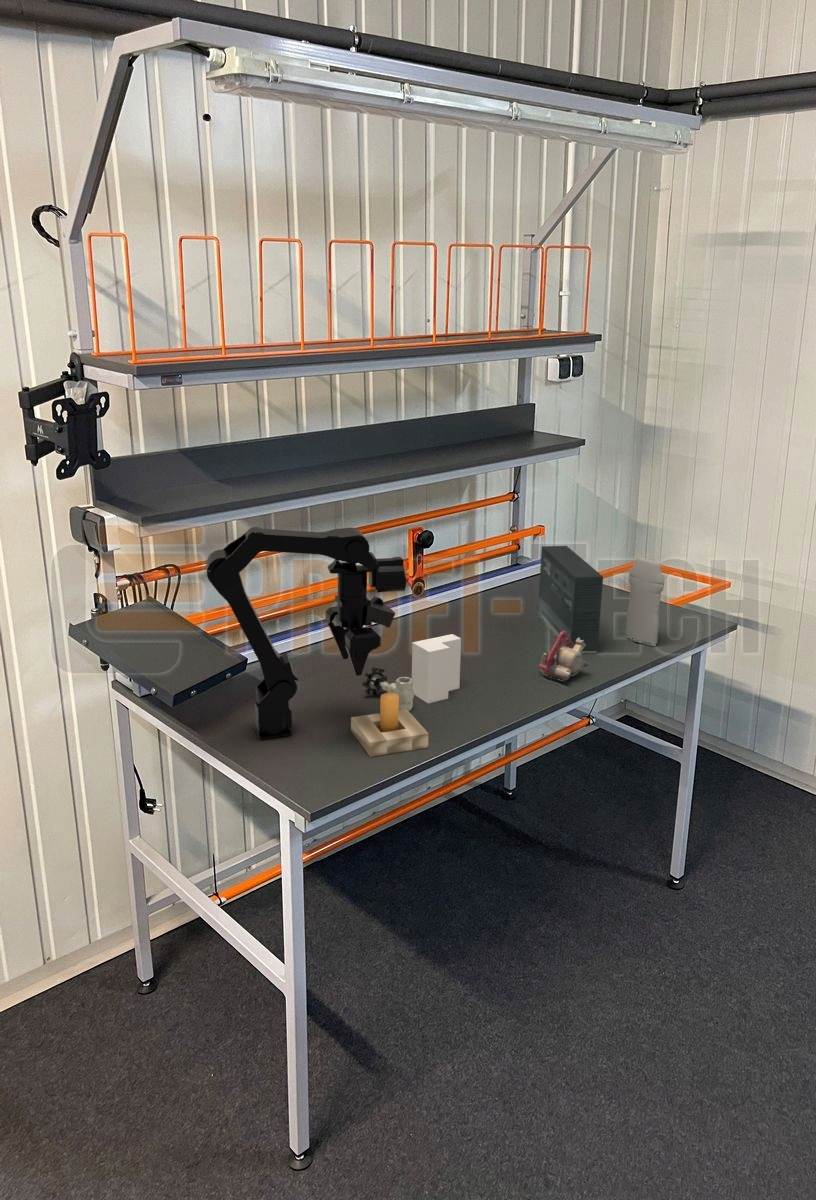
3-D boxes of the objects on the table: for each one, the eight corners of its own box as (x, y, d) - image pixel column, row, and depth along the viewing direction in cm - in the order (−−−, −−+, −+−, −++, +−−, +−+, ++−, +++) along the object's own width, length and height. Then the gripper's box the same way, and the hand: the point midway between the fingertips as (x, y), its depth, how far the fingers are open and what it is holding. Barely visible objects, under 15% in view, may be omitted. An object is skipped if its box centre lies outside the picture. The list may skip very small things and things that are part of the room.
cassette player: (596, 653, 238) (603, 576, 232) (569, 655, 237) (575, 577, 231) (561, 615, 266) (566, 545, 259) (537, 616, 265) (541, 546, 258)
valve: (421, 707, 207) (384, 690, 215) (422, 678, 205) (384, 663, 213) (399, 715, 202) (362, 698, 211) (399, 686, 200) (362, 670, 209)
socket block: (370, 756, 184) (370, 742, 183) (351, 730, 195) (350, 717, 194) (428, 747, 188) (428, 733, 187) (406, 722, 199) (406, 709, 198)
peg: (383, 743, 189) (384, 701, 186) (377, 735, 192) (378, 694, 190) (400, 740, 191) (401, 698, 188) (394, 732, 194) (395, 691, 191)
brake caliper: (550, 652, 232) (578, 621, 224) (579, 687, 228) (608, 658, 221) (522, 664, 224) (550, 634, 216) (551, 701, 220) (581, 671, 213)
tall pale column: (619, 637, 249) (626, 555, 243) (629, 634, 252) (636, 553, 245) (652, 649, 242) (660, 565, 235) (662, 645, 244) (671, 562, 237)
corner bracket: (427, 703, 208) (429, 651, 205) (400, 685, 217) (401, 635, 214) (467, 693, 214) (469, 643, 210) (439, 676, 223) (440, 627, 219)
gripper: (407, 603, 183) (405, 679, 188) (376, 576, 200) (375, 647, 205) (350, 608, 179) (350, 686, 184) (324, 580, 196) (324, 652, 201)
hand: (351, 666), depth 194 cm, fingers open, 9 cm apart
